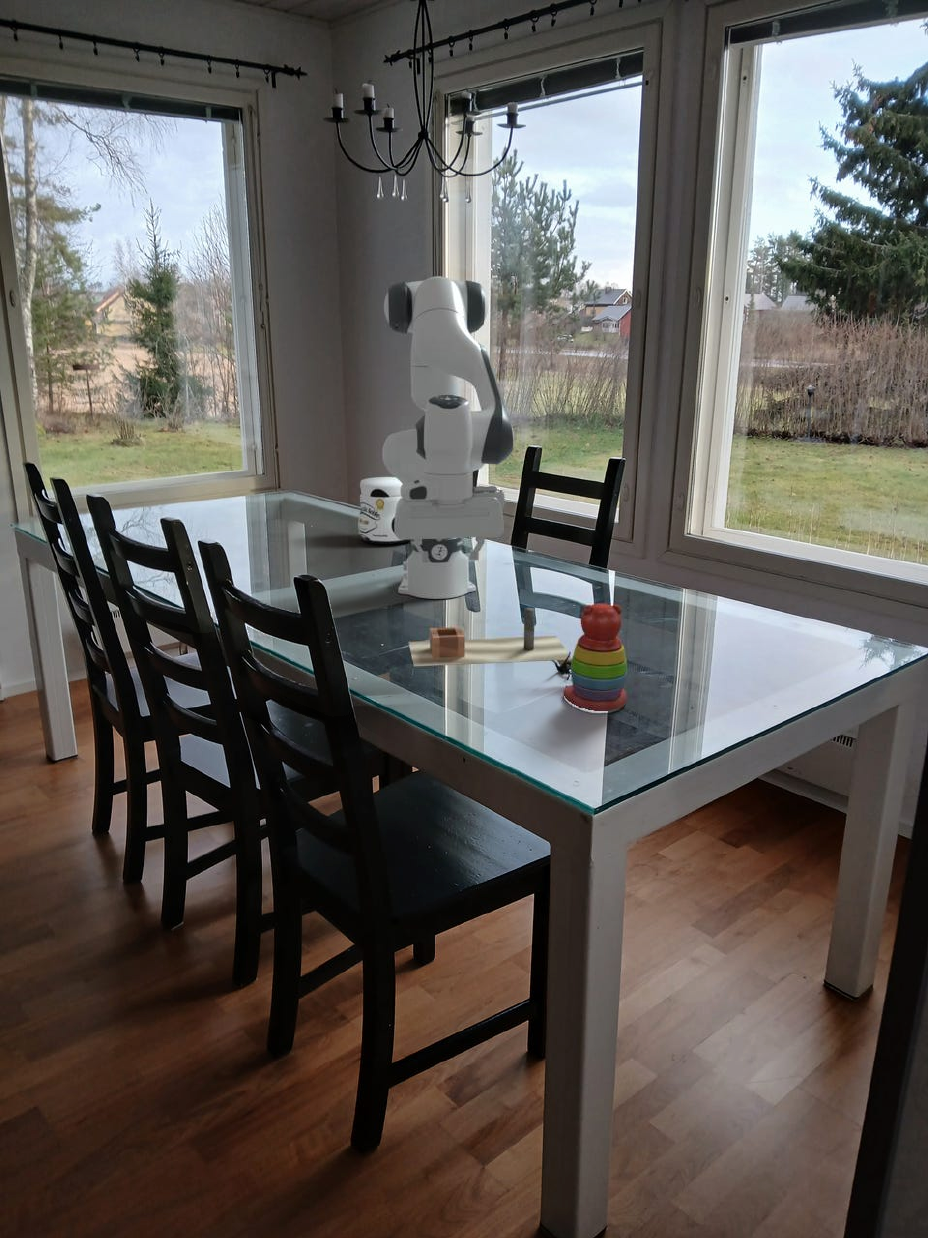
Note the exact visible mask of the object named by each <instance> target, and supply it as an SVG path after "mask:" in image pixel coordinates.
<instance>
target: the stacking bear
mask: <svg viewBox="0 0 928 1238" xmlns="http://www.w3.org/2000/svg"><path fill="white" fill-rule="evenodd" d="M622 610H623V609H622V607H621V606H620V605H619V604H613V605H611V604H608V603H595V604H592V605H591V604H588V605H586V606H584V607H583V609H582V614H581V616H580V626H581V629H582V630H581V631H582V632H583V634H582V635H581V636H580V637H579V638H578V640H577V643H576V645H575V648H574V652H573V656H572V657H571V658H572V662H571V667H570V668H571V669H570V673H571V674H570V676H571V677H570V678H571V680H572V682H571V683H572V685H568V686H567V687H566V688H564V690H563V693H564V696H565V698H566V699H567V700H568V701H569V702H571V703H572V704H574V705H576V706H578V707H579V708H585V709H588V710H594V711H609V710H614V709H618V708H621V707H623V706H624V704H625V703H626V704H627V702H626V701H628V700H627V699H628V697H627V692H626V690H625V689H624V684H625V683H626V680H627V679H626V678H627V675H628V673H627V672H628V662H627V661H628V660H627V658H626V655H627V654H626V650H625V646H624V645H623V643H622V640H621V639H620V637H619V636H618V634H619V632H620V630H621V627H622V617H621V614H622ZM564 696H563V697H564ZM626 704H625V705H626ZM623 708H624V707H623Z"/></svg>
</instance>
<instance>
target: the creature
mask: <svg viewBox="0 0 928 1238" xmlns="http://www.w3.org/2000/svg"><path fill="white" fill-rule="evenodd" d="M568 654H569V655H568V657H567V658H566V659H565V661H564V662H563V664H562V665H561V666H560V665H558V662H557V661H556V660H550V662H553V664H554V665H555V668H556V671H557V672H558V673H561V675H563V676H564V674H565V675H566V676H568V677H567V678H566V681H568V680H569V679H570V678H571V677H570V676H571V662H569V661H567V660H568V658H569V656H570V657H571V651H569V652H568ZM566 661H567V662H566ZM567 664H568V665H570V667H567ZM565 687H566V688H567V687H568V685H565Z"/></svg>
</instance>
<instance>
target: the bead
mask: <svg viewBox="0 0 928 1238" xmlns="http://www.w3.org/2000/svg"><path fill="white" fill-rule="evenodd" d="M465 640H466V639H465V634H464V632H463V630H462V627H461V626H454V627H453V626H452V627H451V626H450V627H432V628H431V627H430V628H429V641H430V649H431V652H432V656H433V658H445V657H465Z"/></svg>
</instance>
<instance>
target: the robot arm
mask: <svg viewBox="0 0 928 1238" xmlns="http://www.w3.org/2000/svg"><path fill="white" fill-rule="evenodd" d="M383 312H384V316H385V318H386V321H387V323H388V327H389V328H390V329H391V330H392V331H393V332H396V333H399V334H400V333H401V334H404V335H406V334H409V333H410V334H412V337H411V338H412V339H411V347H410V389H411V390H410V393H411V394H410V396H411V400H412V401H413V403H414V405H415V406H416V407H417V408H419V409H420V410H422V411H423V412H425V413H424V415H423V416H422V417H420V418H419V420H418V421H417V422H416V423H415V424H414V425H415V428H414V429H411V428H410V429H406V430H402V431H401V430H400V431H398V432H394V433H391V434H389V436H387V438H386V439H385V441H384V444H383V446H382V452H381V455H382V457H381V458H382V462H383V464H384V466H385V468H386V470H387V471H388V472H389V474H390V475H392V477H396V478H397V479H398V480H400V482H401V483H402V484H403V485H402V486H401V489H400V493H401V496H402V498H401V499H400V500H399V501H398V503H397V506H396V512H395V523H394V532H395V535H396V537H397V538H398V539H400V540H405V539H411V541H410V542H411V549H412V552H411V553H410V555H409V556H408V557H407V558H406V560H404V561H403V571H404V572H405V571H406V572H405V573H404V575H403V579H402V581H401V583H400V585H399V586H398V593H399V594H402V595H409V596H413V597H415V598H422V599H430V600H431V599H432V600H433V599H434V600H437V599H439V600H441V599H452V598H458V597H460V596H463V595H465V594H467V593H470V592H471V593H472V592H475V591H476V590H477V586H476V585H475V584H474V583H472V582H471V581H470V577H469V575H470V574H469V560H470V561H471V562H473V561H479V560H480V559H479V557H480V556H479V555H480V551H481V550H482V548H483V547H484V544H485V541H486V540H485V539H486V538H489V537H490V538H491V537H492V538H493V537H494V538H495V537H500V536H501V535H503V533H504V530H505V529H504V528H505V527H504V518H503V516H504V515H503V508H504V507H505V500H506V499H505V498H506V497H505V493H504V491H503V490H502V489H501V488H499V487H497V486H496V485H495V486H494V485H490V486H483V485H482V486H477V485H476V486H475V485H474V484H473V483H474V482H473V479H474V478H473V477H474V476H473V474H474V473H473V472H475V471H476V472H477V471H479V470H481V469H482V468H483V467H485V465H499V464H501V463H502V462H504V461H505V460H506V459H507V458H508V457H509V456H510V455H511V454H512V453H513V450H514V445H515V433H514V431H515V430H514V428H513V424H512V422H511V419H510V416H509V414H508V412H507V410H506V406H505V404H504V401H503V397H502V395H501V390H500V388H499V387H500V386H499V384H498V381H497V380H498V379H497V377H496V374H495V370H494V366H493V364H492V361H491V359H490V356H489V354H488V351H487V349H486V347H485V346H484V345H482V344H480V342H477V340H475V339H474V338H473V336H472V335H471V334H472V333H475V332H477V331H479V330H480V329H481V328H482V327H483V326H484V324H485V321H486V319H487V316H488V313H489V301H488V298H487V294H486V292H485V289H484V287H483V285H482V284H481V283H480V282H476V281H472V280H465V281H463V280H462V281H461V280H454V279H450V278H448V277H445V276H443V275H441V276H440V275H437V276H436V275H435V276H432V277H428V278H426V279H424V280H417V281H410V282H406V281H405V280H404V281H399V282H395V283H393V284H391V286H390V287H389V288H388V289H387V293H386V295H385V297H384V303H383ZM460 380H464V381H466V382H467V383H469V384H471V385H472V386H473V388H474V389H475V393H476V395H477V400H478V403H479V406H480V409H481V410H478V411H476V410H475V411H474V410H473V411H471V409H470V402H469V400H468V399H466V398H464V396H462V395H461V381H460ZM473 485H474V486H473ZM463 538H465V539H466V538H475V541H476V544H475V547H474V548H473V549H469V554H470V555H469V557H468V556H466V554H464V552H463V551H462V549H463Z"/></svg>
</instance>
